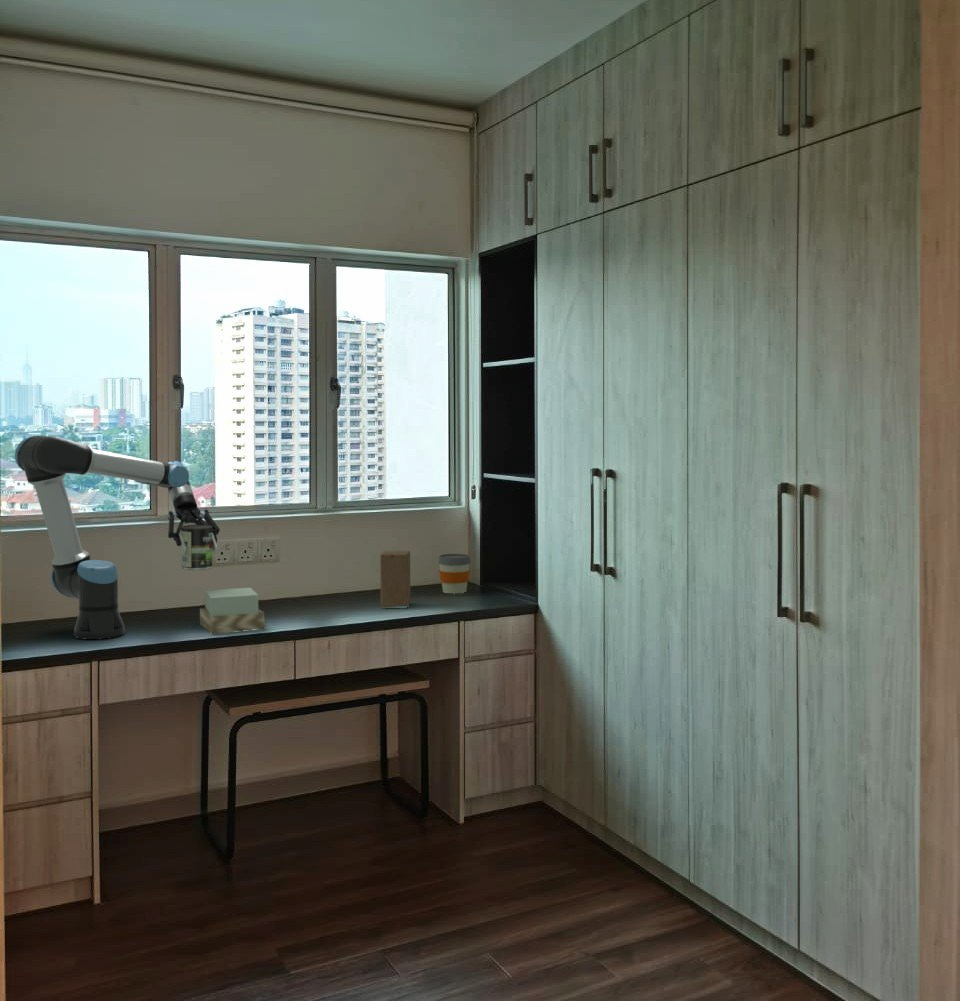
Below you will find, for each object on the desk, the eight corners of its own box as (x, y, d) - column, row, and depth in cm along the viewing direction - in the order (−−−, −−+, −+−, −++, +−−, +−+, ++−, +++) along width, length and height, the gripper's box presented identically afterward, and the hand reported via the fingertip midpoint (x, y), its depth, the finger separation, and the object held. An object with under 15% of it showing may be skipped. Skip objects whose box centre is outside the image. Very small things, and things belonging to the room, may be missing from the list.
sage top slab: (211, 616, 325) (210, 598, 324) (205, 608, 339) (205, 590, 338) (258, 613, 330) (258, 594, 330) (250, 605, 344) (250, 587, 344)
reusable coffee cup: (438, 591, 404) (438, 553, 403) (469, 590, 405) (469, 553, 403) (439, 596, 391) (438, 558, 390) (471, 596, 392) (471, 558, 391)
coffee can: (217, 565, 347) (217, 525, 346) (204, 571, 337) (204, 529, 336) (189, 564, 349) (189, 524, 348) (175, 569, 339) (175, 527, 337)
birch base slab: (212, 635, 324) (212, 617, 323) (200, 626, 339) (199, 608, 338) (264, 630, 332) (264, 612, 331) (250, 621, 347) (250, 604, 346)
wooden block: (408, 608, 367) (407, 554, 365) (380, 608, 367) (380, 554, 365) (410, 603, 377) (410, 550, 375) (383, 603, 377) (383, 550, 375)
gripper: (212, 505, 360) (229, 555, 349) (148, 508, 347) (164, 560, 336) (217, 492, 355) (235, 542, 344) (153, 494, 342) (169, 547, 331)
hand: (200, 551), depth 340 cm, fingers closed on coffee can, 10 cm apart
